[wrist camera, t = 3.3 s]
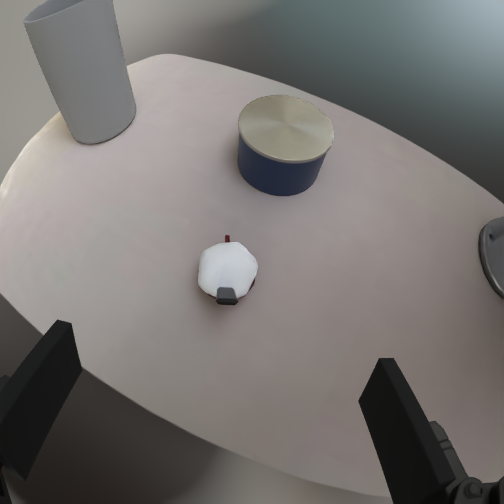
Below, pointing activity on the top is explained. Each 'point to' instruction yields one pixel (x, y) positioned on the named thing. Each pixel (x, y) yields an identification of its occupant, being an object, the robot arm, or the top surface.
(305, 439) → the top surface
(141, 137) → the top surface
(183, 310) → the top surface
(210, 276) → the cocoa
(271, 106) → the beige and blue cylinder
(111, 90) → the cylinder vase
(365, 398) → the robot arm
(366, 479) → the top surface
